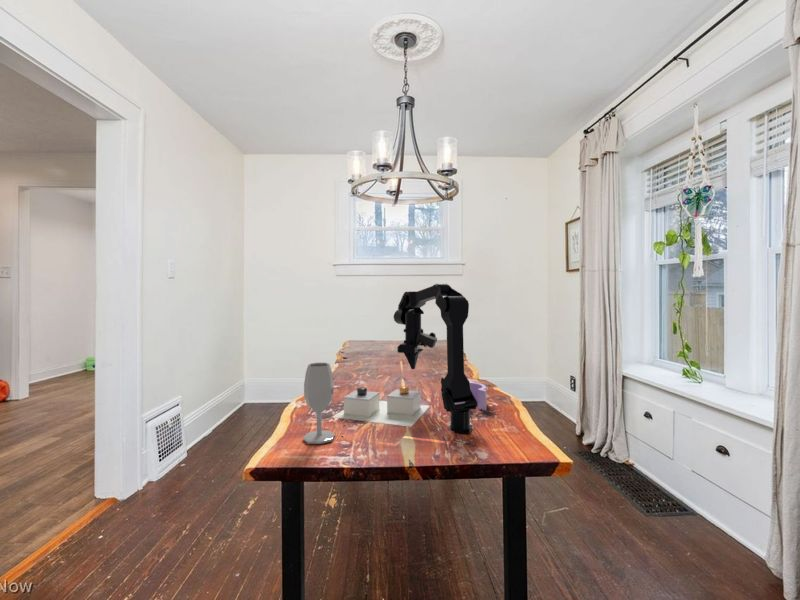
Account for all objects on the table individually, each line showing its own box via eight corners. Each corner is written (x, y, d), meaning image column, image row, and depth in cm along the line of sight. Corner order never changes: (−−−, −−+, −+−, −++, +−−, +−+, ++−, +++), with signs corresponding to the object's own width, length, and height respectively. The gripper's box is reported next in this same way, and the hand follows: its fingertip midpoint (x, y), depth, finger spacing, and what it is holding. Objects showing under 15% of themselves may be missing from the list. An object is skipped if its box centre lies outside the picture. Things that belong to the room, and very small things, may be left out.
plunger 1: (367, 413, 124) (367, 392, 124) (347, 411, 127) (347, 390, 127) (376, 407, 131) (376, 386, 131) (357, 405, 134) (357, 385, 133)
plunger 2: (411, 412, 126) (411, 391, 126) (390, 410, 128) (390, 389, 128) (417, 406, 133) (417, 385, 132) (397, 404, 135) (397, 384, 135)
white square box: (412, 415, 125) (412, 398, 124) (387, 413, 128) (387, 395, 127) (421, 406, 134) (421, 390, 134) (397, 404, 137) (397, 388, 137)
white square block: (368, 417, 123) (368, 399, 123) (343, 414, 126) (343, 397, 126) (381, 407, 133) (380, 391, 133) (357, 405, 136) (357, 389, 136)
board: (411, 428, 115) (411, 426, 115) (331, 418, 124) (331, 416, 124) (430, 407, 136) (430, 405, 136) (360, 400, 145) (360, 398, 145)
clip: (442, 396, 151) (442, 378, 150) (472, 394, 153) (472, 377, 153) (458, 412, 131) (458, 392, 131) (493, 410, 133) (493, 390, 133)
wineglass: (303, 446, 102) (303, 368, 101) (302, 434, 110) (302, 362, 110) (336, 443, 104) (336, 366, 103) (333, 431, 112) (333, 360, 112)
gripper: (428, 329, 127) (428, 376, 127) (440, 324, 145) (440, 365, 145) (396, 328, 130) (397, 373, 131) (412, 323, 148) (412, 363, 148)
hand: (413, 369), depth 139 cm, fingers closed
